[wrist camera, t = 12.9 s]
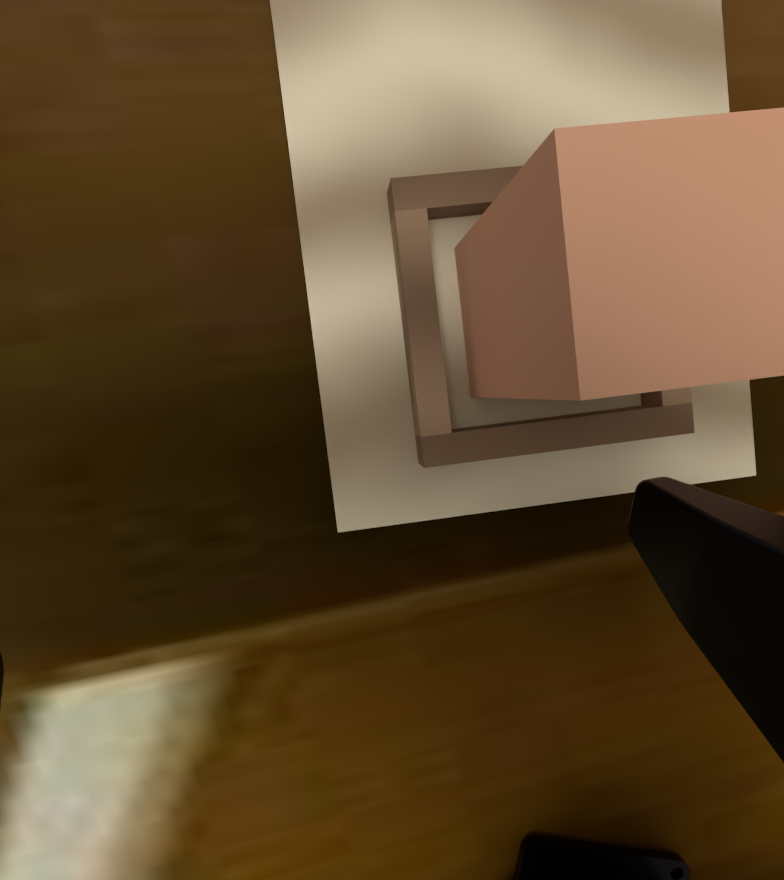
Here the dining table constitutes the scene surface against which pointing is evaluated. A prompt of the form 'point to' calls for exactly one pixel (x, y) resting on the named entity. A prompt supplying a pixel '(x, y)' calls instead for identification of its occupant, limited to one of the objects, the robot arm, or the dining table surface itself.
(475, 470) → the board
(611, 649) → the dining table surface
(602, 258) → the pillar
